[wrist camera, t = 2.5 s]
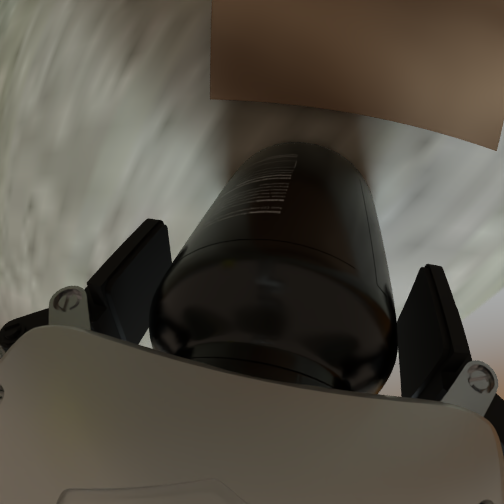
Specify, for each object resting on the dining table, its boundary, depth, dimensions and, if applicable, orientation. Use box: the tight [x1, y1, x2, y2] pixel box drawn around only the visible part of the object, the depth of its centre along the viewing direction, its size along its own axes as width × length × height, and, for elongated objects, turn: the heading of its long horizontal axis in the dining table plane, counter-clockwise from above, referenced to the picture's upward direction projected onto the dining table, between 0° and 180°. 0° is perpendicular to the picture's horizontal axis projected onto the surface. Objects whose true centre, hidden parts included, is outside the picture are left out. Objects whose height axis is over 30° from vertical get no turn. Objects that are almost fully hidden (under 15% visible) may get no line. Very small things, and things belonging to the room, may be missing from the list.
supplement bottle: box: [149, 142, 398, 394], centre depth 10 cm, size 7×7×12 cm
